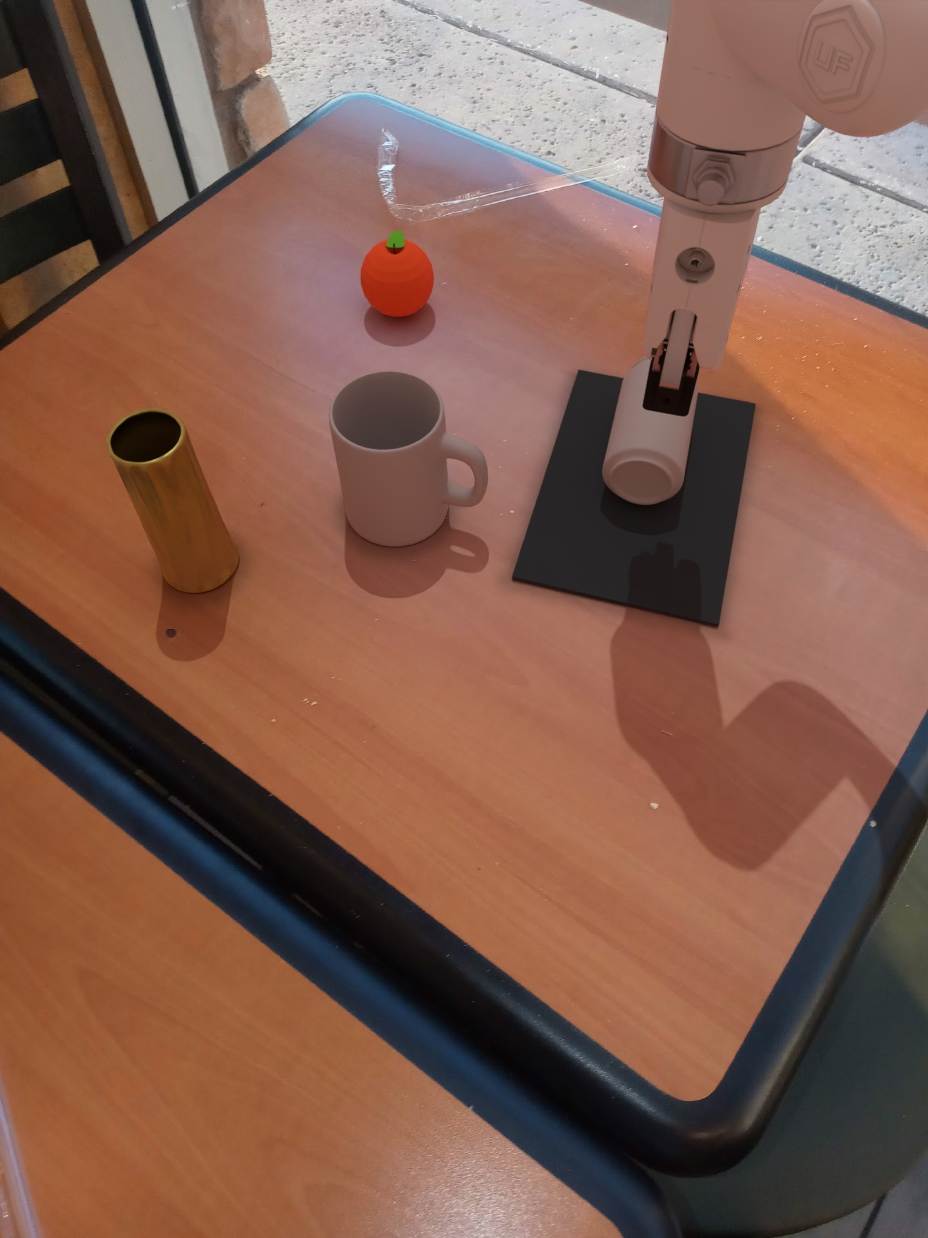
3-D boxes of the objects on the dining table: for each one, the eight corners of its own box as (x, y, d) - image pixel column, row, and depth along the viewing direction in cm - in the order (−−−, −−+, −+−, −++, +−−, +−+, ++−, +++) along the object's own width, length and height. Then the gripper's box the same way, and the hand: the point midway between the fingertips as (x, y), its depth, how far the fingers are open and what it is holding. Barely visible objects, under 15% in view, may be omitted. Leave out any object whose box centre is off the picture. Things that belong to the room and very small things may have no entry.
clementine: (368, 277, 91) (361, 212, 85) (438, 279, 90) (435, 213, 84) (360, 331, 86) (352, 267, 80) (433, 333, 86) (430, 268, 80)
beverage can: (586, 465, 71) (611, 361, 77) (621, 516, 75) (642, 414, 81) (662, 446, 67) (682, 339, 74) (695, 501, 71) (711, 395, 78)
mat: (717, 627, 68) (719, 624, 68) (511, 579, 71) (511, 576, 70) (754, 406, 81) (755, 403, 80) (578, 372, 83) (578, 369, 83)
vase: (150, 589, 71) (84, 464, 59) (176, 527, 74) (118, 397, 62) (226, 599, 70) (174, 475, 58) (248, 536, 73) (204, 406, 61)
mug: (329, 533, 73) (308, 437, 64) (368, 458, 78) (353, 358, 68) (470, 570, 71) (469, 477, 62) (502, 491, 76) (506, 392, 66)
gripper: (780, 240, 44) (705, 494, 59) (806, 85, 51) (733, 345, 67) (625, 218, 45) (591, 472, 60) (673, 70, 53) (632, 328, 68)
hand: (666, 405), depth 63 cm, fingers closed
